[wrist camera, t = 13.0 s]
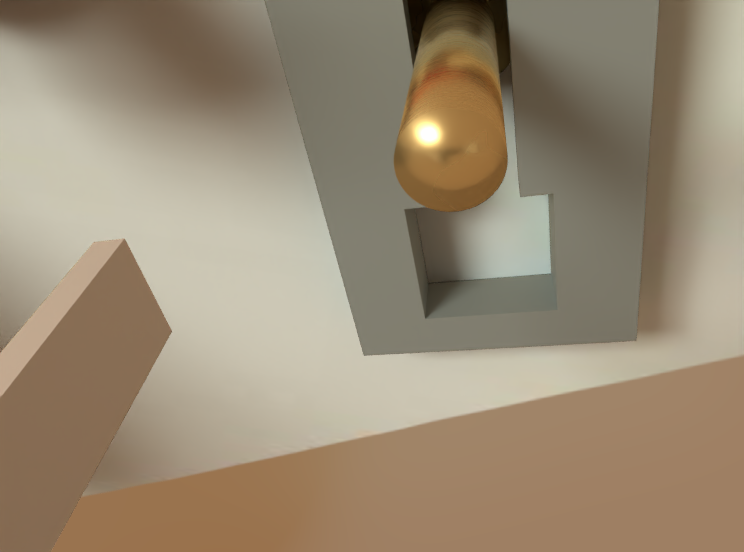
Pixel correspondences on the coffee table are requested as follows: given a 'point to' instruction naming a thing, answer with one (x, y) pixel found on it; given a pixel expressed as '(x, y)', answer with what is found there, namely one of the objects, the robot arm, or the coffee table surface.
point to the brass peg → (454, 104)
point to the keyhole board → (534, 161)
